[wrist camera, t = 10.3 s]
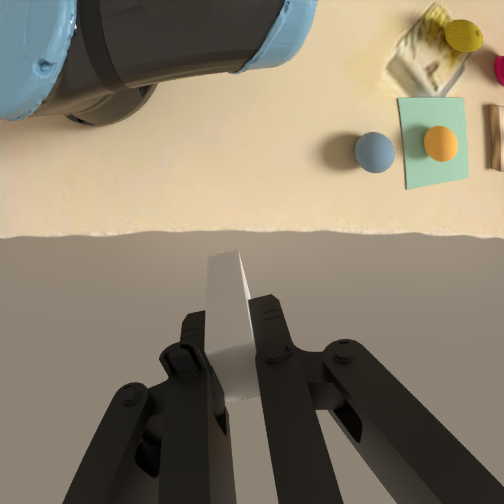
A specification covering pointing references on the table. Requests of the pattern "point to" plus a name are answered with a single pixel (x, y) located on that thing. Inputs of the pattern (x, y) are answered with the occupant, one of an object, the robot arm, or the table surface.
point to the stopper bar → (497, 136)
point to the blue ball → (374, 152)
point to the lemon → (463, 36)
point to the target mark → (413, 131)
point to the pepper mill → (500, 69)
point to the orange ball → (440, 143)
